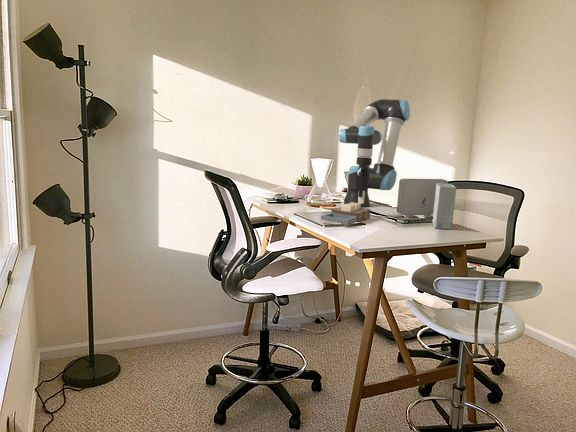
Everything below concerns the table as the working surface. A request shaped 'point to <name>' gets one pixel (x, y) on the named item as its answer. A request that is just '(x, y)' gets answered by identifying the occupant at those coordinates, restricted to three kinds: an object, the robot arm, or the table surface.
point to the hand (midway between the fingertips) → (360, 203)
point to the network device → (417, 196)
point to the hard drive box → (444, 206)
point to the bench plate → (354, 213)
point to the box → (340, 218)
